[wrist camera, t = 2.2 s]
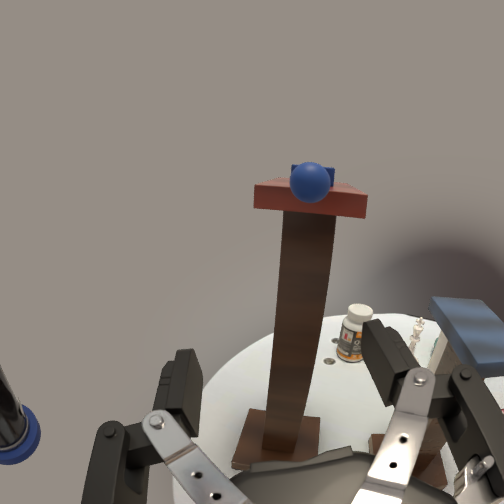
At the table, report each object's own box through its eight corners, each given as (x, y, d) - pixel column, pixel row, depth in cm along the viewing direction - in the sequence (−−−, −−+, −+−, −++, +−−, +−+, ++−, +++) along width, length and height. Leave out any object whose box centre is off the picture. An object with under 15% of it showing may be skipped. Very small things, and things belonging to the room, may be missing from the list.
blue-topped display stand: (443, 495, 20) (544, 357, 14) (371, 504, 22) (462, 364, 16) (428, 432, 31) (490, 300, 25) (367, 434, 33) (419, 295, 27)
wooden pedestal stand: (312, 486, 26) (391, 197, 17) (229, 474, 28) (230, 183, 18) (318, 418, 37) (362, 185, 28) (250, 409, 39) (263, 176, 30)
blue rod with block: (354, 210, 10) (357, 166, 9) (261, 201, 10) (263, 158, 10) (330, 183, 26) (331, 166, 25) (294, 180, 26) (295, 163, 26)
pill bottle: (353, 367, 49) (366, 320, 46) (330, 353, 53) (339, 308, 50) (369, 354, 52) (381, 310, 49) (346, 343, 57) (356, 299, 54)
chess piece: (400, 352, 52) (413, 309, 49) (421, 361, 49) (436, 317, 46) (391, 363, 49) (405, 318, 46) (412, 373, 45) (429, 327, 43)
